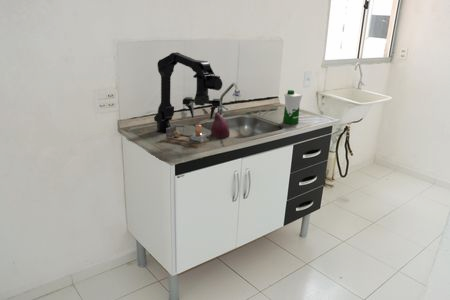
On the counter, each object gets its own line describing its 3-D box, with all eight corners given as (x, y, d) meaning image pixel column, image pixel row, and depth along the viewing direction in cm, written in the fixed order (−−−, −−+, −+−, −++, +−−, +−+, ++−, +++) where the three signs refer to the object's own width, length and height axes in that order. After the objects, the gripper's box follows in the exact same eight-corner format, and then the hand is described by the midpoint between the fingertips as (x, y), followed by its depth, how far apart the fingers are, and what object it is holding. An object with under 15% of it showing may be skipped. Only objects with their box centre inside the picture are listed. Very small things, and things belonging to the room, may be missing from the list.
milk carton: (289, 120, 237) (292, 89, 231) (300, 123, 231) (304, 91, 224) (280, 122, 232) (283, 90, 225) (291, 125, 225) (294, 93, 219)
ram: (189, 141, 184) (189, 125, 182) (195, 137, 189) (195, 123, 187) (200, 143, 182) (201, 127, 179) (206, 139, 187) (206, 124, 184)
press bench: (163, 141, 187) (163, 129, 185) (176, 135, 198) (175, 124, 195) (198, 147, 180) (198, 135, 178) (208, 141, 190) (209, 129, 188)
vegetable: (214, 144, 196) (209, 119, 188) (209, 136, 204) (204, 112, 197) (232, 138, 197) (228, 114, 190) (227, 131, 206) (222, 107, 198)
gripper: (179, 89, 172) (180, 121, 177) (218, 91, 170) (217, 123, 175) (185, 85, 183) (185, 115, 188) (222, 87, 181) (221, 118, 186)
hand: (201, 118), depth 184 cm, fingers open, 9 cm apart
